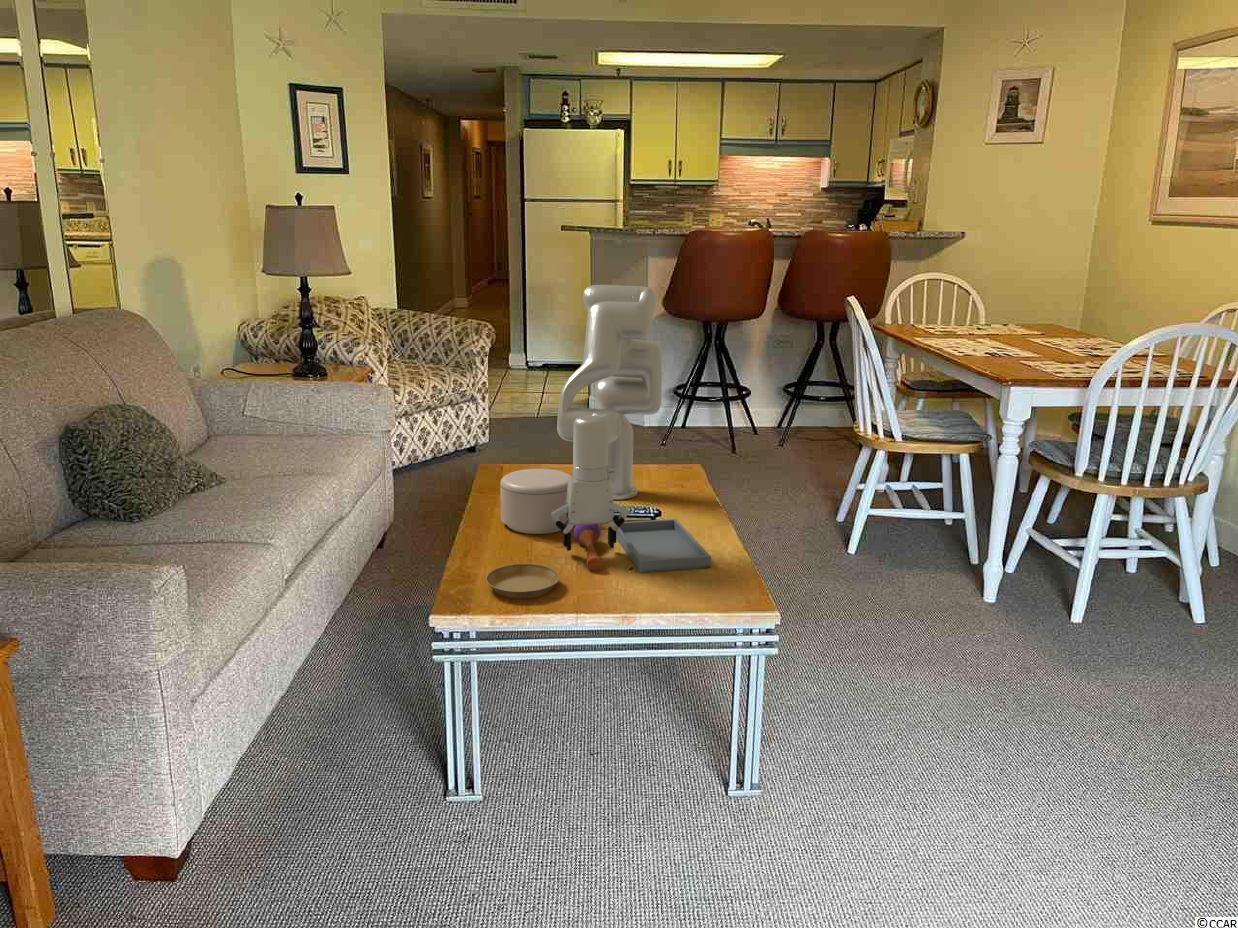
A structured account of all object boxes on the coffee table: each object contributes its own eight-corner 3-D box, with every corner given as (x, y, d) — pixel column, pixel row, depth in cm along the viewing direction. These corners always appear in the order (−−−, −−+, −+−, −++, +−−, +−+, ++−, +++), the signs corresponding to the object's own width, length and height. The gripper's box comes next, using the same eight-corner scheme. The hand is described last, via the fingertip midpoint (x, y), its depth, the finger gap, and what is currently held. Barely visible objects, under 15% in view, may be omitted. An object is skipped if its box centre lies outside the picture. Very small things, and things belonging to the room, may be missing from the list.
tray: (612, 533, 219) (612, 522, 218) (675, 529, 223) (676, 518, 222) (639, 572, 195) (640, 561, 194) (710, 567, 199) (710, 556, 198)
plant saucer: (508, 609, 176) (508, 597, 176) (472, 584, 188) (472, 572, 187) (573, 592, 185) (573, 580, 184) (535, 569, 196) (535, 558, 196)
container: (490, 517, 229) (489, 471, 226) (557, 508, 237) (557, 464, 234) (516, 540, 213) (516, 491, 210) (587, 529, 221) (587, 482, 218)
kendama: (578, 555, 194) (570, 518, 213) (583, 580, 196) (575, 541, 215) (606, 549, 194) (596, 513, 213) (610, 574, 196) (600, 536, 215)
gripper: (625, 466, 206) (623, 539, 210) (548, 470, 202) (548, 544, 206) (633, 475, 199) (631, 550, 203) (553, 479, 195) (553, 555, 199)
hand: (589, 547), depth 205 cm, fingers open, 9 cm apart
